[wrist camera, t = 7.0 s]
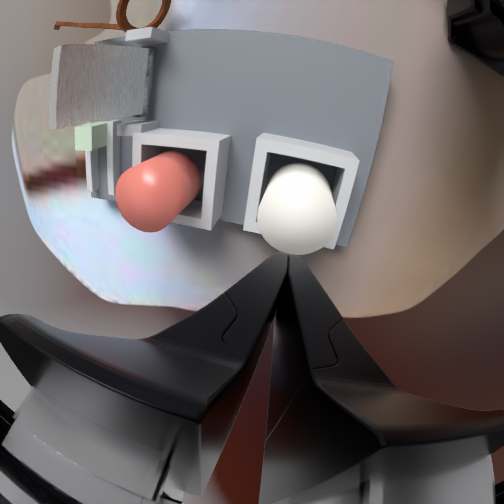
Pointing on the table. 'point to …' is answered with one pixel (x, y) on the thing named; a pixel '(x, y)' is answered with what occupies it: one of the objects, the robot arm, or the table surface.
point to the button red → (157, 190)
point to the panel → (250, 119)
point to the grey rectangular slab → (99, 83)
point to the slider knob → (91, 136)
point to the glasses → (121, 19)
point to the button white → (297, 210)
